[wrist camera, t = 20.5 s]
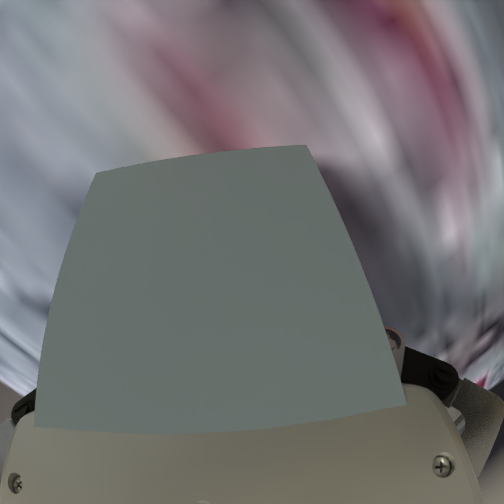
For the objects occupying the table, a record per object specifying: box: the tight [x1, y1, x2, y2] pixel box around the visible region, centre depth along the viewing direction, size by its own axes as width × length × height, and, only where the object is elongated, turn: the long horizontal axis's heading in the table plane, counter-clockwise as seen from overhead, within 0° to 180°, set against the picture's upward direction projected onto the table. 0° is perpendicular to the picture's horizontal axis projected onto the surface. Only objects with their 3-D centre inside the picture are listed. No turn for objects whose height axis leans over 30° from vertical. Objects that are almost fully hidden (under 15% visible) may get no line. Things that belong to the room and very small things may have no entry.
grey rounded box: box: [34, 145, 407, 434], centre depth 10 cm, size 8×8×9 cm
